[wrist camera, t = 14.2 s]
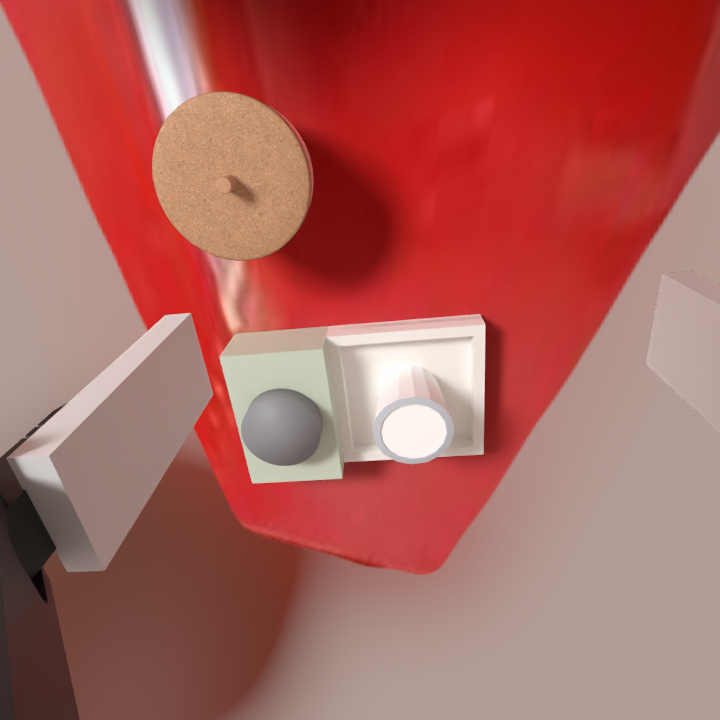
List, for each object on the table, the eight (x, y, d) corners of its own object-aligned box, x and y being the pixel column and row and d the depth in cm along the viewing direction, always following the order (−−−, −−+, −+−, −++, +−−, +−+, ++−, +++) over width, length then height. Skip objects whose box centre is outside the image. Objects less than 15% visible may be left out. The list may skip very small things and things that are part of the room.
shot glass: (373, 419, 48) (372, 464, 42) (373, 358, 45) (372, 396, 39) (442, 420, 48) (451, 465, 42) (447, 359, 45) (457, 398, 38)
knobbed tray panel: (235, 333, 46) (212, 367, 39) (480, 314, 44) (496, 346, 37) (263, 452, 52) (247, 497, 46) (479, 439, 50) (493, 485, 44)
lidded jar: (248, 261, 42) (215, 295, 34) (164, 150, 39) (104, 158, 30) (348, 192, 39) (339, 211, 31) (269, 65, 36) (234, 48, 27)
